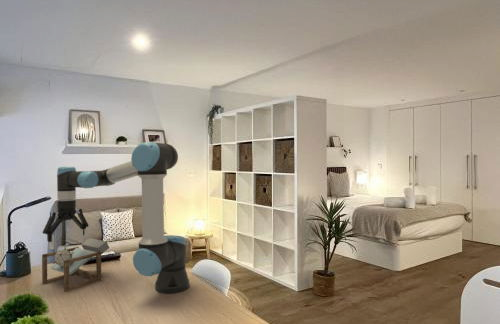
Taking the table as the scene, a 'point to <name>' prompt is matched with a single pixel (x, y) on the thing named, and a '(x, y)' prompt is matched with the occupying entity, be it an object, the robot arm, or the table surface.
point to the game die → (62, 257)
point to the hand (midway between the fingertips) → (66, 245)
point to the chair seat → (88, 248)
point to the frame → (80, 272)
